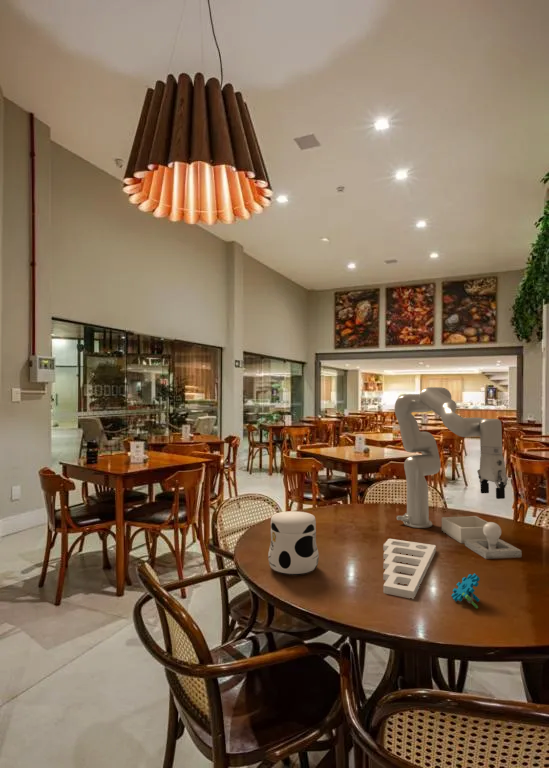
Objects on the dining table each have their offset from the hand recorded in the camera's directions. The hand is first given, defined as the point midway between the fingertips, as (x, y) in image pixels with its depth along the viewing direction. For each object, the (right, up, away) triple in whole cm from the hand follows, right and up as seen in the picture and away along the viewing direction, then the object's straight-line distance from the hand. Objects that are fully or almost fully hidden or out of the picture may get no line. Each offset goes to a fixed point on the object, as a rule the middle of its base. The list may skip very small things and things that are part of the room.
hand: (492, 495), depth 171 cm
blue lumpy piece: (-28, -21, -41) cm, 54 cm away
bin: (-2, -21, +17) cm, 28 cm away
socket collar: (0, -21, -1) cm, 21 cm away
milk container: (-77, -21, -18) cm, 82 cm away
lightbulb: (0, -21, -1) cm, 21 cm away
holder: (-40, -22, -16) cm, 48 cm away
